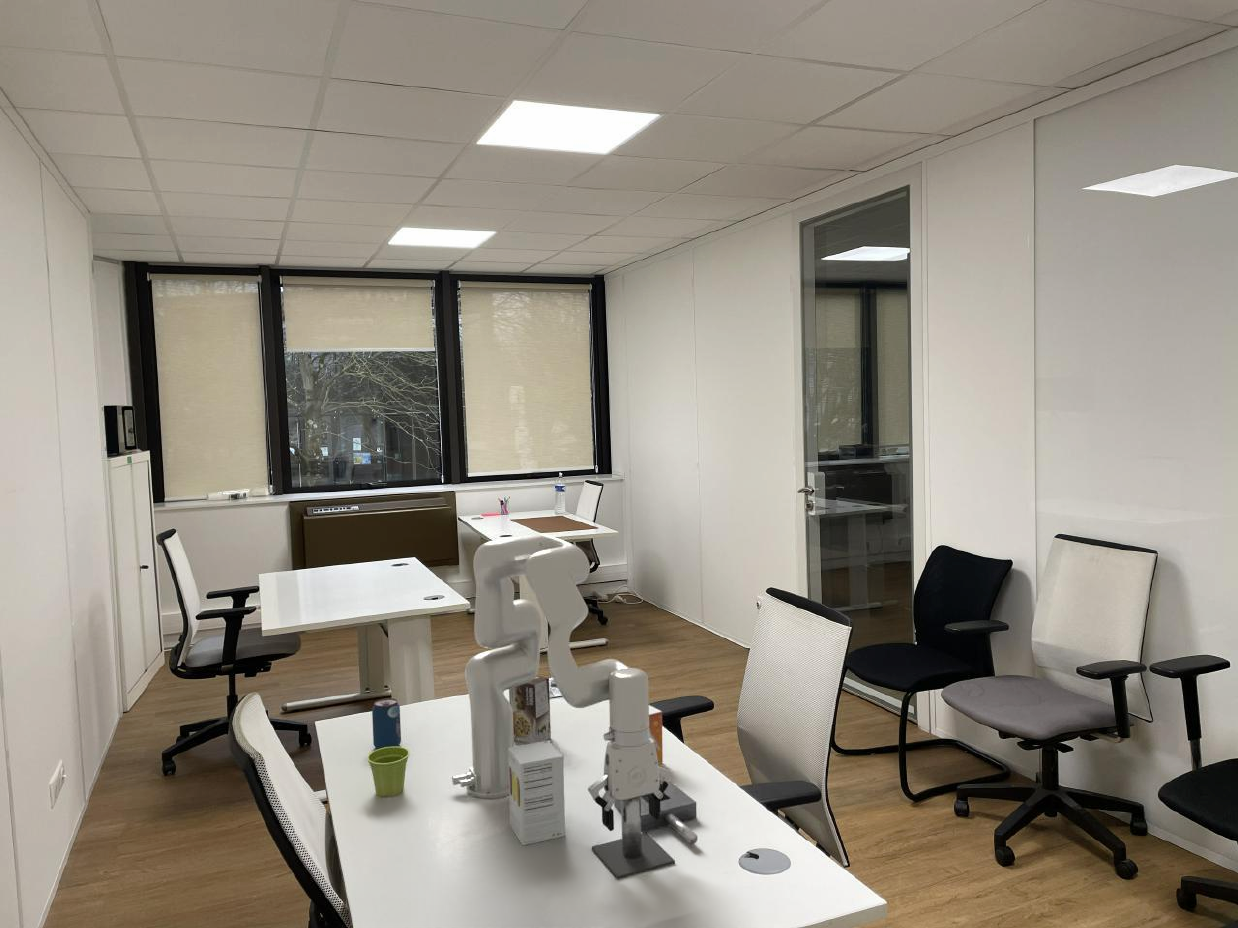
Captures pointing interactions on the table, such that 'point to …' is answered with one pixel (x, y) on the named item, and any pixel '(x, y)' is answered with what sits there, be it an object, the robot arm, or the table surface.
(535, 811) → the supplement box
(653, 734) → the small box
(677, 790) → the block
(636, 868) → the pad
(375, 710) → the soda can
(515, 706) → the coffee box
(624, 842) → the gold capped metal cylinder
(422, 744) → the table surface
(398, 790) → the plant pot
